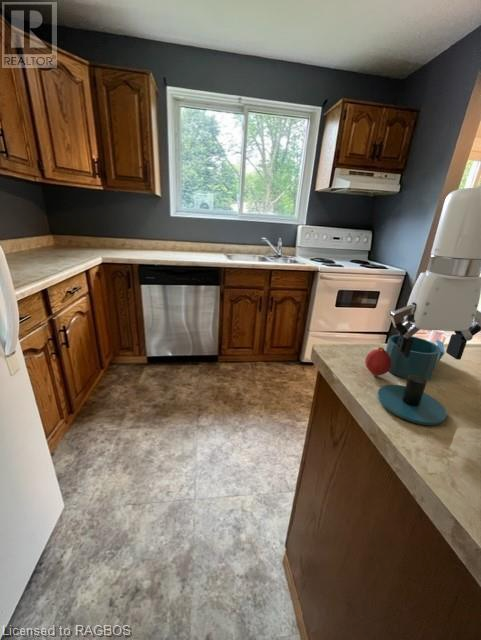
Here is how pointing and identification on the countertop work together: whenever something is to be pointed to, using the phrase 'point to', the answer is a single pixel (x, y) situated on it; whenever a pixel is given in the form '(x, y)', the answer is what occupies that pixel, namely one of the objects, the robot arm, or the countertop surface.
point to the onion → (378, 361)
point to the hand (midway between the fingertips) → (427, 355)
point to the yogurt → (440, 345)
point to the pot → (413, 358)
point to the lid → (412, 402)
